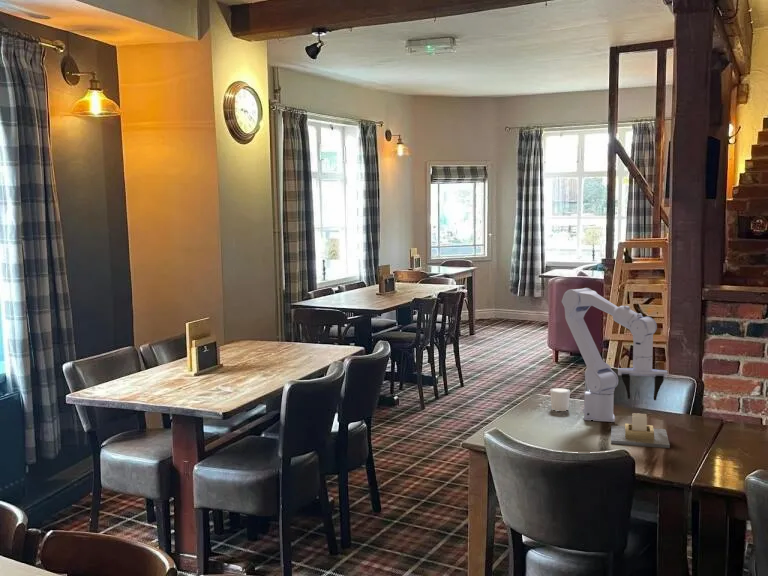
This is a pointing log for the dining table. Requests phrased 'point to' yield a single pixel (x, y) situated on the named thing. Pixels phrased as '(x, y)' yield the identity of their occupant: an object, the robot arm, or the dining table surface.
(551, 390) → the white cylinder
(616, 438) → the socket plate
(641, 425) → the cream block
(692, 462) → the dining table surface
